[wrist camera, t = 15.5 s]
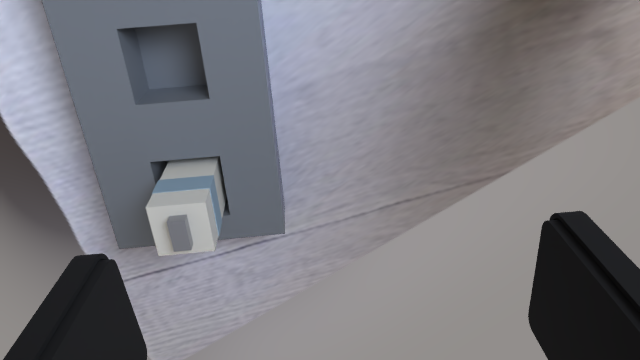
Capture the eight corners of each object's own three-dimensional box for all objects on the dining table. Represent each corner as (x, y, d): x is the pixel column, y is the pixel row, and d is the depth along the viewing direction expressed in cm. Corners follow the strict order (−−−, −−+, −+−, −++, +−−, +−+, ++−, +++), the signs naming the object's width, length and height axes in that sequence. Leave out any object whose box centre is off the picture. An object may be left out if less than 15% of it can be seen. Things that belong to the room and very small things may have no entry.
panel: (243, -153, 32) (237, -166, 28) (284, 207, 45) (284, 233, 41) (31, -139, 32) (-5, -149, 28) (133, 220, 45) (119, 248, 41)
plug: (222, 143, 41) (204, 207, 32) (229, 186, 43) (214, 258, 34) (174, 148, 41) (141, 213, 32) (183, 190, 43) (155, 263, 33)
